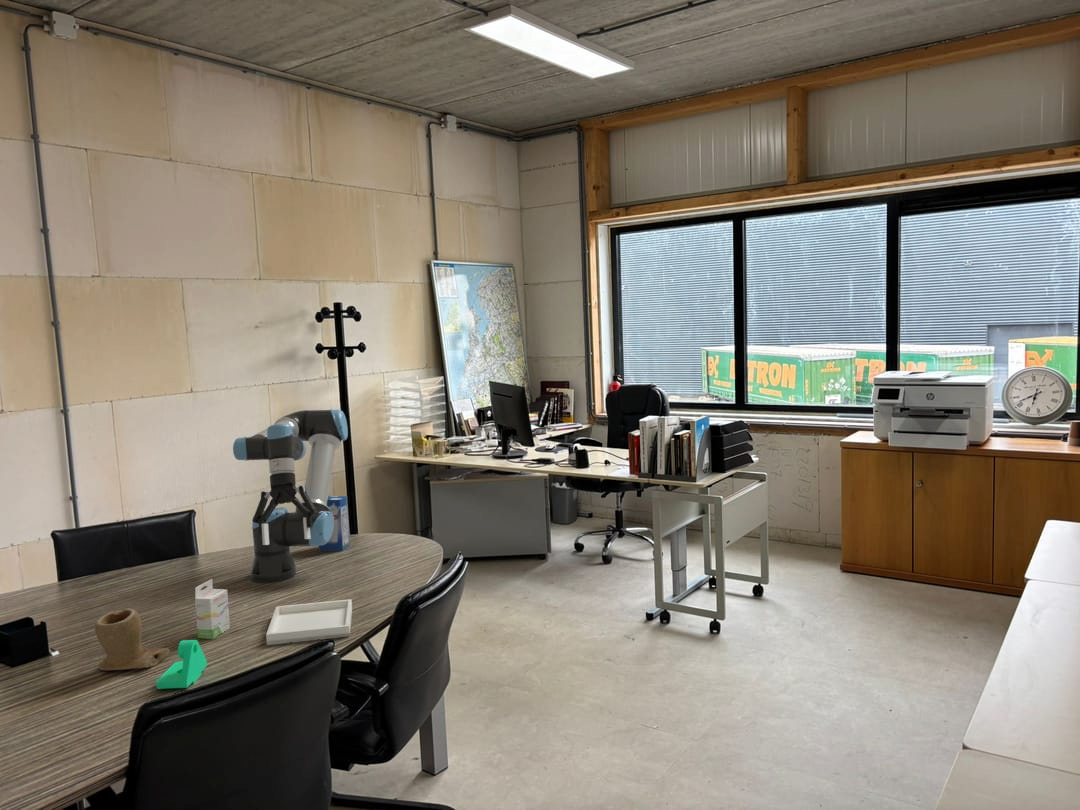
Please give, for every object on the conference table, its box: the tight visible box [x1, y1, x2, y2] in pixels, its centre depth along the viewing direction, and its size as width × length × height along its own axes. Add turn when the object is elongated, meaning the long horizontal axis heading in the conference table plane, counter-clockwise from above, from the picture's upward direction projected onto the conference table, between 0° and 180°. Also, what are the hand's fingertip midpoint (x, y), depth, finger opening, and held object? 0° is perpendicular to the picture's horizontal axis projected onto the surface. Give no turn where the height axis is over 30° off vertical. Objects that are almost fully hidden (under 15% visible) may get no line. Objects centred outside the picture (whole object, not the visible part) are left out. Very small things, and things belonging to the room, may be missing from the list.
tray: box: [265, 598, 353, 646], centre depth 228 cm, size 22×22×3 cm
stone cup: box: [94, 608, 170, 671], centre depth 203 cm, size 15×12×15 cm
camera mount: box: [155, 639, 208, 690], centre depth 195 cm, size 12×8×10 cm, turn 1°
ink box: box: [194, 578, 231, 640], centre depth 224 cm, size 9×5×15 cm, turn 168°
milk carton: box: [318, 495, 350, 552], centre depth 307 cm, size 10×6×20 cm, turn 79°
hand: (286, 542), depth 243 cm, fingers open, 13 cm apart
